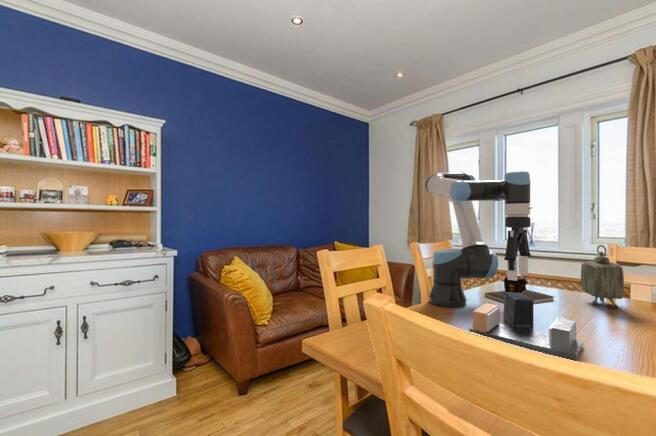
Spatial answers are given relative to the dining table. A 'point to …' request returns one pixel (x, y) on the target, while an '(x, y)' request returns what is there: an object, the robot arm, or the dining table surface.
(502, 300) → the hardcover book
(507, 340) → the vise
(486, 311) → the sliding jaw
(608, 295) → the tabletop clock
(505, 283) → the coffee cup
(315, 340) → the dining table surface
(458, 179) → the robot arm
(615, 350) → the dining table surface
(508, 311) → the small box
